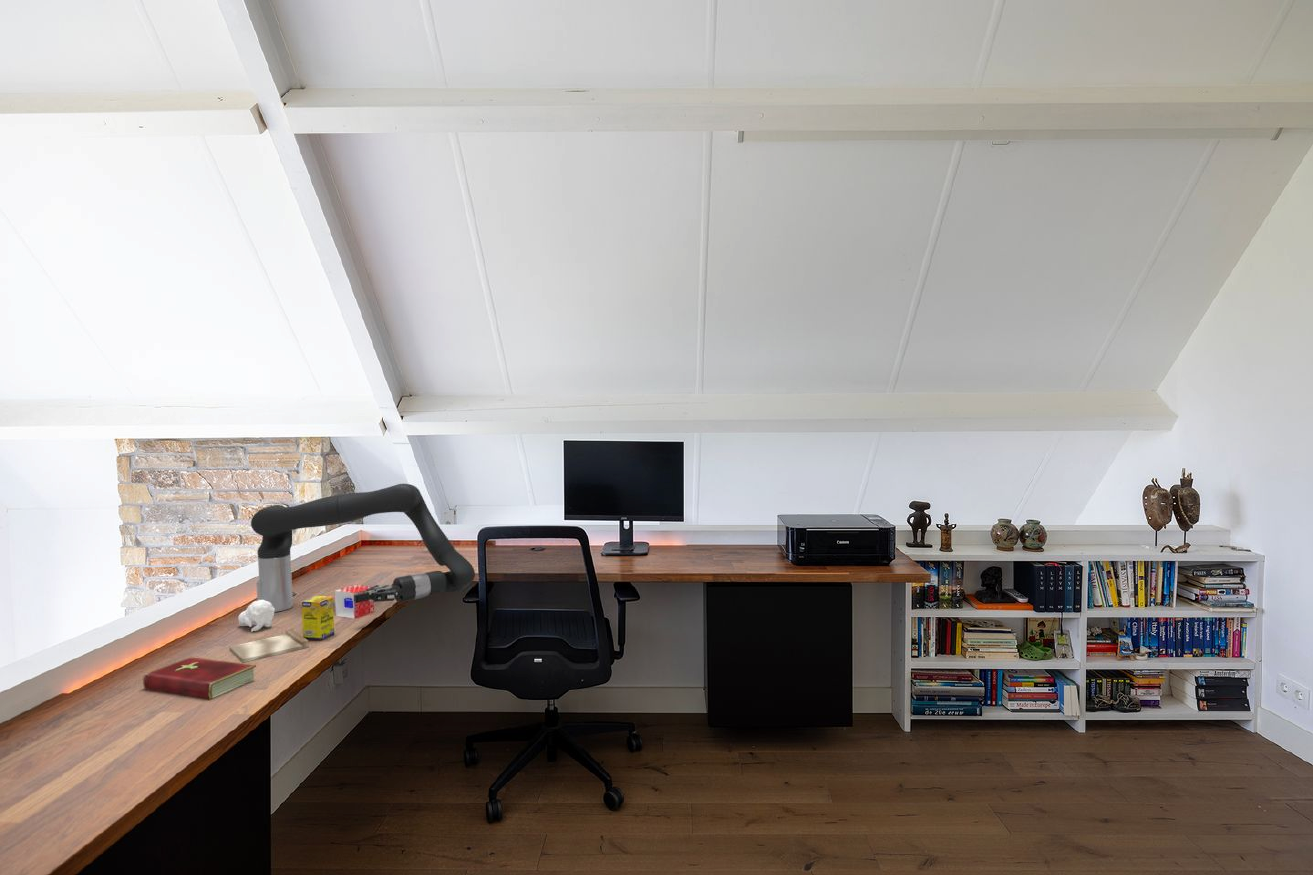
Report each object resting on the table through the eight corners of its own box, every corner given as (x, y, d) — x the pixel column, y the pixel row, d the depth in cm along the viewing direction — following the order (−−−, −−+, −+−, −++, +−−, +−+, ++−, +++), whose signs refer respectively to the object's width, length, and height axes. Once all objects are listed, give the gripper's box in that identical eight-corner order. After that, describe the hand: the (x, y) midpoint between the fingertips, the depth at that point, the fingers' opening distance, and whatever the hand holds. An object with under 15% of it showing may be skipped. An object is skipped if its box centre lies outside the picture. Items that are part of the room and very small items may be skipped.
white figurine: (255, 603, 203) (229, 602, 209) (258, 632, 203) (232, 631, 209) (275, 597, 209) (249, 597, 214) (278, 626, 209) (252, 625, 215)
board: (243, 662, 180) (243, 655, 180) (229, 649, 191) (229, 642, 190) (308, 647, 191) (308, 640, 191) (292, 635, 201) (292, 629, 201)
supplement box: (321, 641, 196) (319, 602, 195) (302, 640, 197) (300, 601, 197) (335, 634, 202) (333, 596, 201) (316, 633, 203) (315, 595, 202)
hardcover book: (210, 701, 158) (209, 683, 157) (143, 690, 164) (142, 673, 164) (256, 681, 169) (256, 663, 169) (192, 672, 176) (191, 655, 176)
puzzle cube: (374, 611, 224) (373, 586, 223) (354, 618, 217) (353, 593, 216) (356, 608, 227) (355, 584, 227) (335, 615, 220) (334, 590, 220)
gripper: (402, 571, 223) (345, 582, 211) (420, 578, 213) (362, 590, 201) (403, 595, 223) (346, 607, 211) (422, 603, 213) (363, 616, 201)
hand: (354, 599), depth 206 cm, fingers closed
